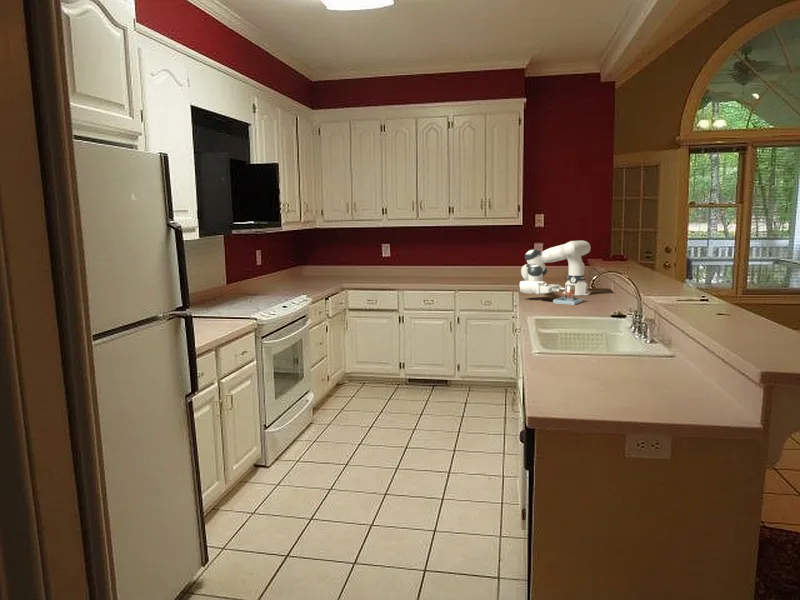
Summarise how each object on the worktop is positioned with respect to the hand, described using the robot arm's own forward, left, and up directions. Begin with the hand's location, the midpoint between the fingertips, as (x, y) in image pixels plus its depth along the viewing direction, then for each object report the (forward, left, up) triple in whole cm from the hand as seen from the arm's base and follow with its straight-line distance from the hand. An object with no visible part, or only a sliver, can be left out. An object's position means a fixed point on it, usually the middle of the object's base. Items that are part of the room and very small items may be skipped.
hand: (562, 289), depth 379 cm
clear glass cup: (0, +5, -8) cm, 10 cm away
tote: (+2, +5, -9) cm, 11 cm away
